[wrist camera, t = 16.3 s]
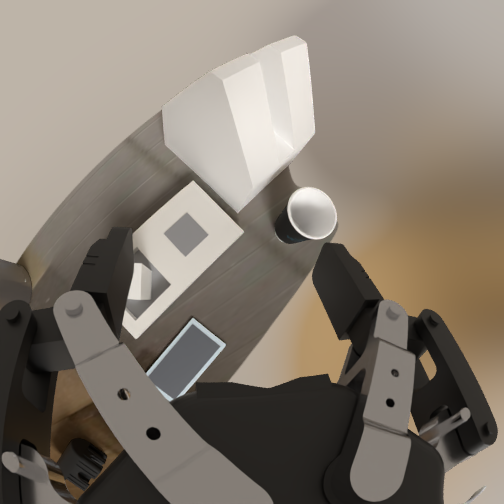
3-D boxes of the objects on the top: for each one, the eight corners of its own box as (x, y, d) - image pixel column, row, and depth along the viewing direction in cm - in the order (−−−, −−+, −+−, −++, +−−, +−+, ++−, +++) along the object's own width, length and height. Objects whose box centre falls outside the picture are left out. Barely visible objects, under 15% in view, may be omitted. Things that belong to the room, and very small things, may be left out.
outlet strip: (139, 336, 40) (135, 339, 37) (91, 282, 39) (85, 281, 36) (240, 236, 46) (244, 231, 43) (192, 187, 46) (193, 180, 43)
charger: (151, 300, 40) (140, 300, 31) (124, 298, 39) (106, 298, 30) (151, 271, 41) (141, 263, 32) (125, 270, 40) (108, 261, 31)
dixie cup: (280, 260, 47) (306, 248, 37) (257, 220, 48) (277, 199, 37) (314, 239, 50) (346, 224, 39) (292, 202, 50) (319, 178, 39)
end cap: (78, 431, 33) (66, 446, 26) (109, 454, 34) (101, 472, 27) (61, 456, 30) (50, 471, 24) (90, 477, 31) (81, 494, 24)
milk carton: (164, 144, 46) (160, 39, 22) (222, 104, 50) (249, 8, 26) (237, 213, 47) (287, 133, 23) (290, 163, 51) (357, 82, 27)
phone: (174, 402, 39) (174, 405, 38) (142, 377, 39) (141, 379, 38) (225, 343, 43) (226, 344, 42) (192, 317, 43) (192, 317, 42)
